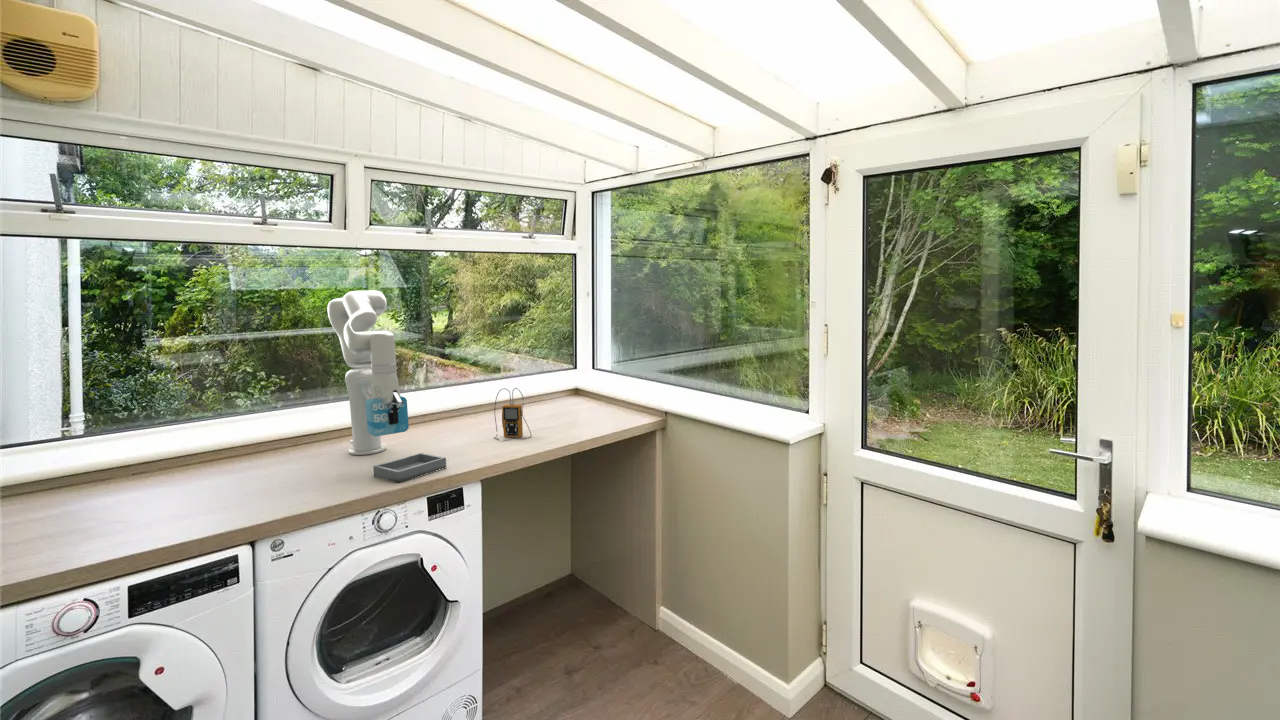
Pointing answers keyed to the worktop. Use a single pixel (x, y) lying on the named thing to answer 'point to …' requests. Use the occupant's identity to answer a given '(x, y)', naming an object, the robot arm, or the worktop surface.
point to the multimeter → (512, 419)
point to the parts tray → (409, 467)
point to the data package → (385, 418)
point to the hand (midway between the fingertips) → (388, 422)
